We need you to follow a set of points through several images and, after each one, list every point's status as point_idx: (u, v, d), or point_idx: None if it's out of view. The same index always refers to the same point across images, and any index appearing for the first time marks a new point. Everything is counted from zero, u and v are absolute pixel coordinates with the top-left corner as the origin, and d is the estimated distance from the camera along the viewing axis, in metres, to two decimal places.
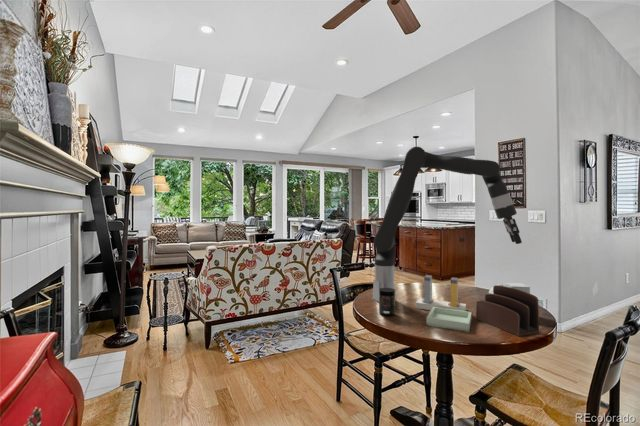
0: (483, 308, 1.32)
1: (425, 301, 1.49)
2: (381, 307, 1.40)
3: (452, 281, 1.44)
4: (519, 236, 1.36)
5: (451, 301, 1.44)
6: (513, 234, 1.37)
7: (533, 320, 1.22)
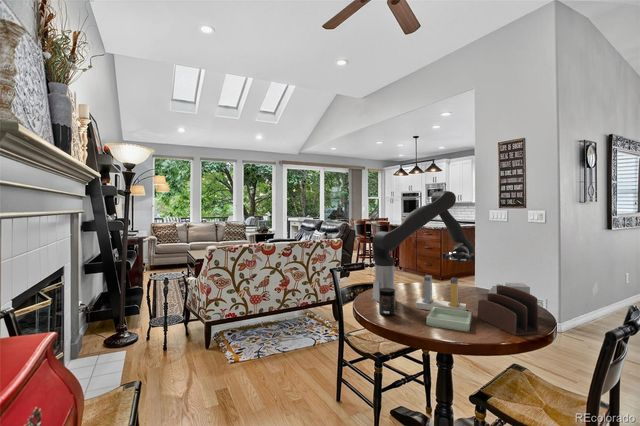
0: (484, 307, 1.33)
1: (425, 301, 1.49)
2: (381, 307, 1.40)
3: (452, 281, 1.44)
4: None
5: (451, 301, 1.44)
6: (470, 256, 1.57)
7: (533, 320, 1.22)
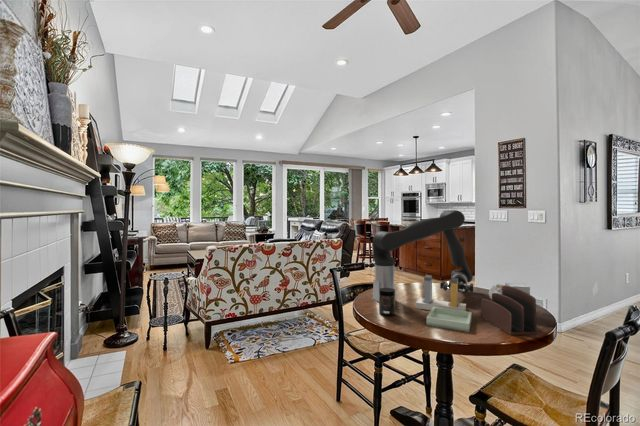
0: (486, 306, 1.35)
1: (425, 301, 1.49)
2: (381, 307, 1.40)
3: (452, 281, 1.44)
4: None
5: (451, 301, 1.44)
6: (468, 287, 1.52)
7: (532, 321, 1.21)
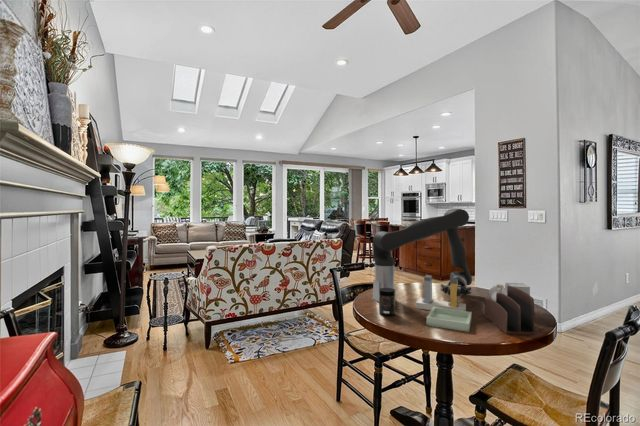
0: (488, 306, 1.35)
1: (425, 301, 1.49)
2: (381, 307, 1.40)
3: (452, 281, 1.43)
4: None
5: (451, 301, 1.44)
6: (459, 290, 1.46)
7: (530, 322, 1.21)
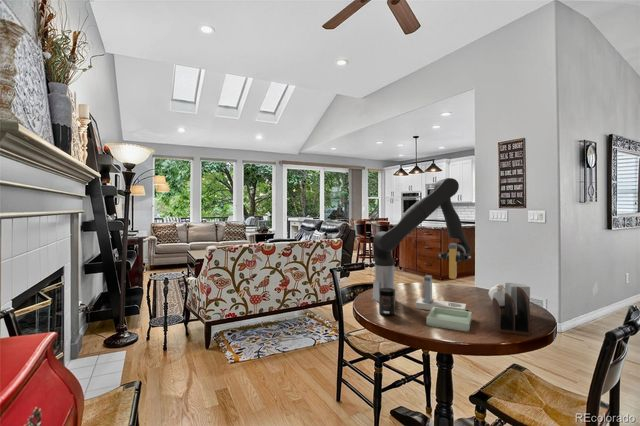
0: (493, 305, 1.36)
1: (425, 301, 1.49)
2: (381, 307, 1.40)
3: (451, 246, 1.38)
4: (457, 260, 1.40)
5: (450, 267, 1.39)
6: (459, 255, 1.41)
7: (527, 322, 1.20)
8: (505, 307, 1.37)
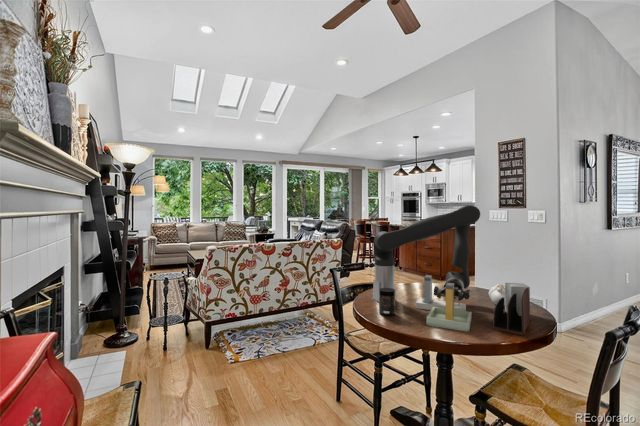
0: None
1: (425, 301, 1.49)
2: (381, 307, 1.40)
3: (447, 287, 1.30)
4: None
5: (446, 309, 1.30)
6: (462, 293, 1.31)
7: None
8: None
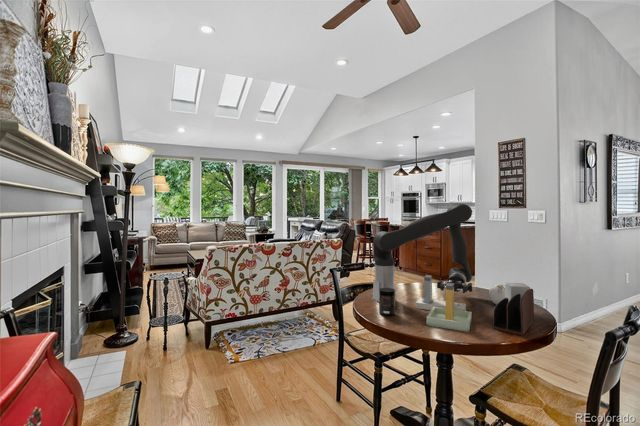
0: None
1: (425, 301, 1.49)
2: (381, 307, 1.40)
3: (447, 287, 1.30)
4: None
5: (446, 309, 1.30)
6: (467, 286, 1.42)
7: None
8: (518, 308, 1.35)
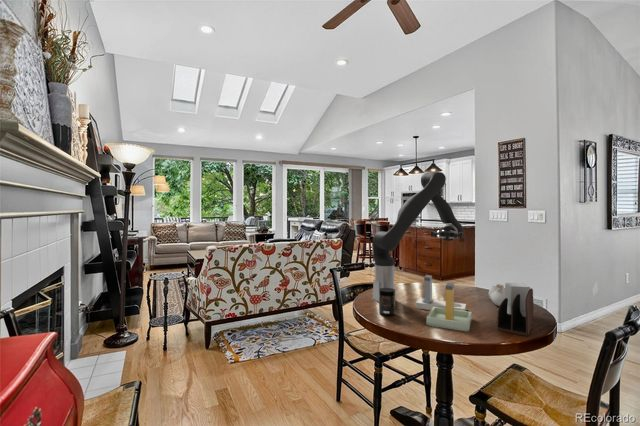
0: None
1: (425, 301, 1.49)
2: (381, 307, 1.40)
3: (447, 287, 1.30)
4: (456, 237, 1.54)
5: (446, 309, 1.30)
6: (457, 233, 1.55)
7: None
8: None
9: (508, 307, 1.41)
